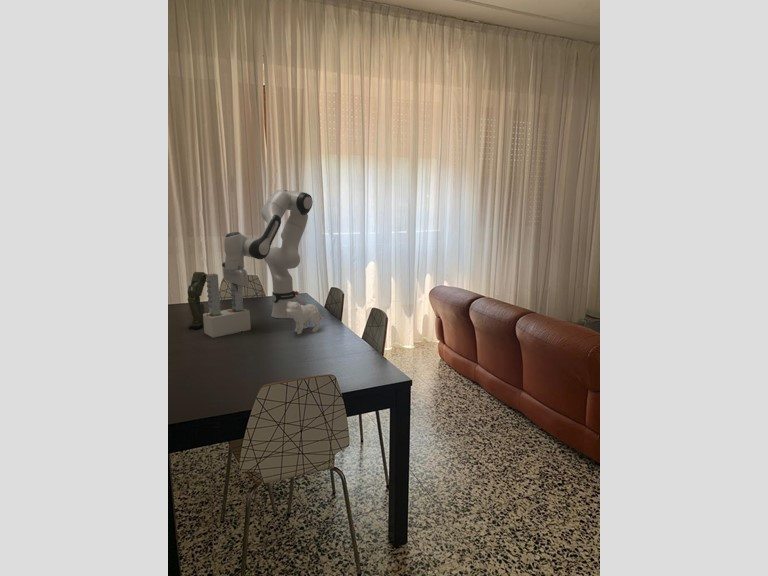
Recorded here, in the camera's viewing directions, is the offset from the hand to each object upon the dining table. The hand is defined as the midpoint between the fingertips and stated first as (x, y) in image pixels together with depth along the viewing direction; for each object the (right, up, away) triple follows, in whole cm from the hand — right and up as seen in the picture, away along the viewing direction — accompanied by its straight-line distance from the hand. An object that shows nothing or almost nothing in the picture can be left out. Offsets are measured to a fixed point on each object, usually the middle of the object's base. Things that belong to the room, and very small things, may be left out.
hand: (236, 291), depth 226 cm
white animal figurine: (+35, -20, +2) cm, 40 cm away
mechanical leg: (-22, -19, +8) cm, 30 cm away
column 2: (0, -18, +4) cm, 18 cm away
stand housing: (-5, -20, 0) cm, 21 cm away
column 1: (-9, -13, -6) cm, 17 cm away
